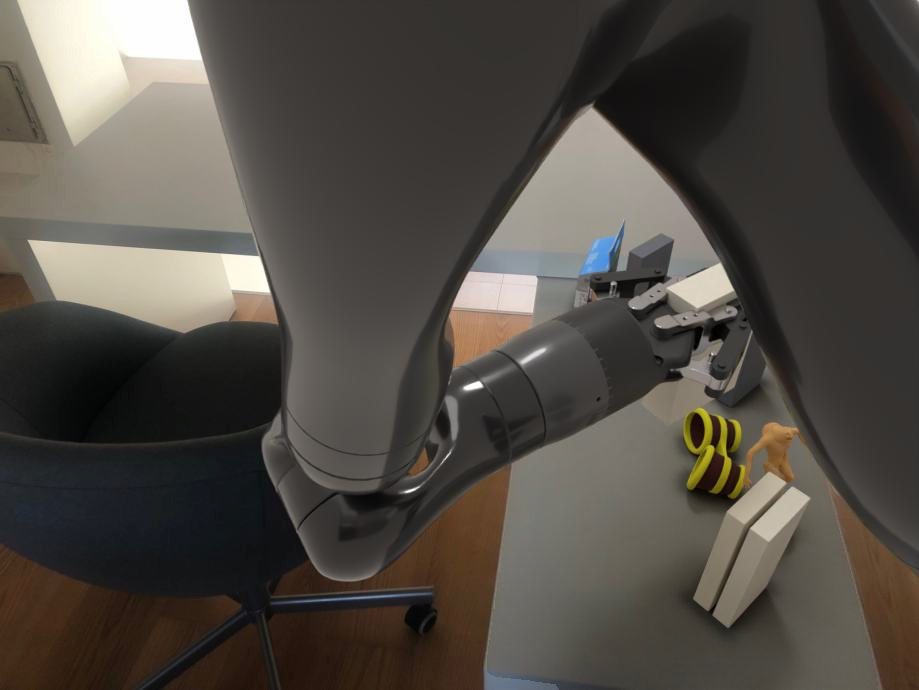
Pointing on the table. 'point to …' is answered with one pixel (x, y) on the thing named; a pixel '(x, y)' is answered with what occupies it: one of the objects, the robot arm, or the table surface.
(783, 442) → the figurine
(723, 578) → the white books
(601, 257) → the label tape box
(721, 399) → the grey rectangular blocks
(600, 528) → the table surface
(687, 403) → the thin white book
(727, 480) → the opera glasses
